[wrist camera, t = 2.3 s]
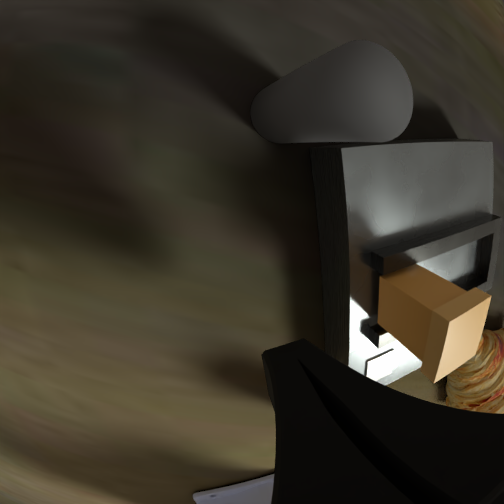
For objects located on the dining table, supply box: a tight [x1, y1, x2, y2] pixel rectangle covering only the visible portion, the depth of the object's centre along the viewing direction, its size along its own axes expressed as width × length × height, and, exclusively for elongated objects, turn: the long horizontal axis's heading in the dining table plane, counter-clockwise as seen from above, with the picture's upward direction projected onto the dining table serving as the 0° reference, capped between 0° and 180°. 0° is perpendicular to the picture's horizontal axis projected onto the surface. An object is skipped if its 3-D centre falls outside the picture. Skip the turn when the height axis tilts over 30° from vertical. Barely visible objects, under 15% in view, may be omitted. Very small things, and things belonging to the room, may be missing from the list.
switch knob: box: [377, 264, 491, 383], centre depth 10 cm, size 2×3×4 cm
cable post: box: [250, 40, 413, 143], centre depth 8 cm, size 2×2×6 cm
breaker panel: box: [309, 139, 501, 386], centre depth 13 cm, size 10×12×3 cm
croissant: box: [446, 328, 504, 414], centre depth 20 cm, size 21×10×8 cm, turn 52°
